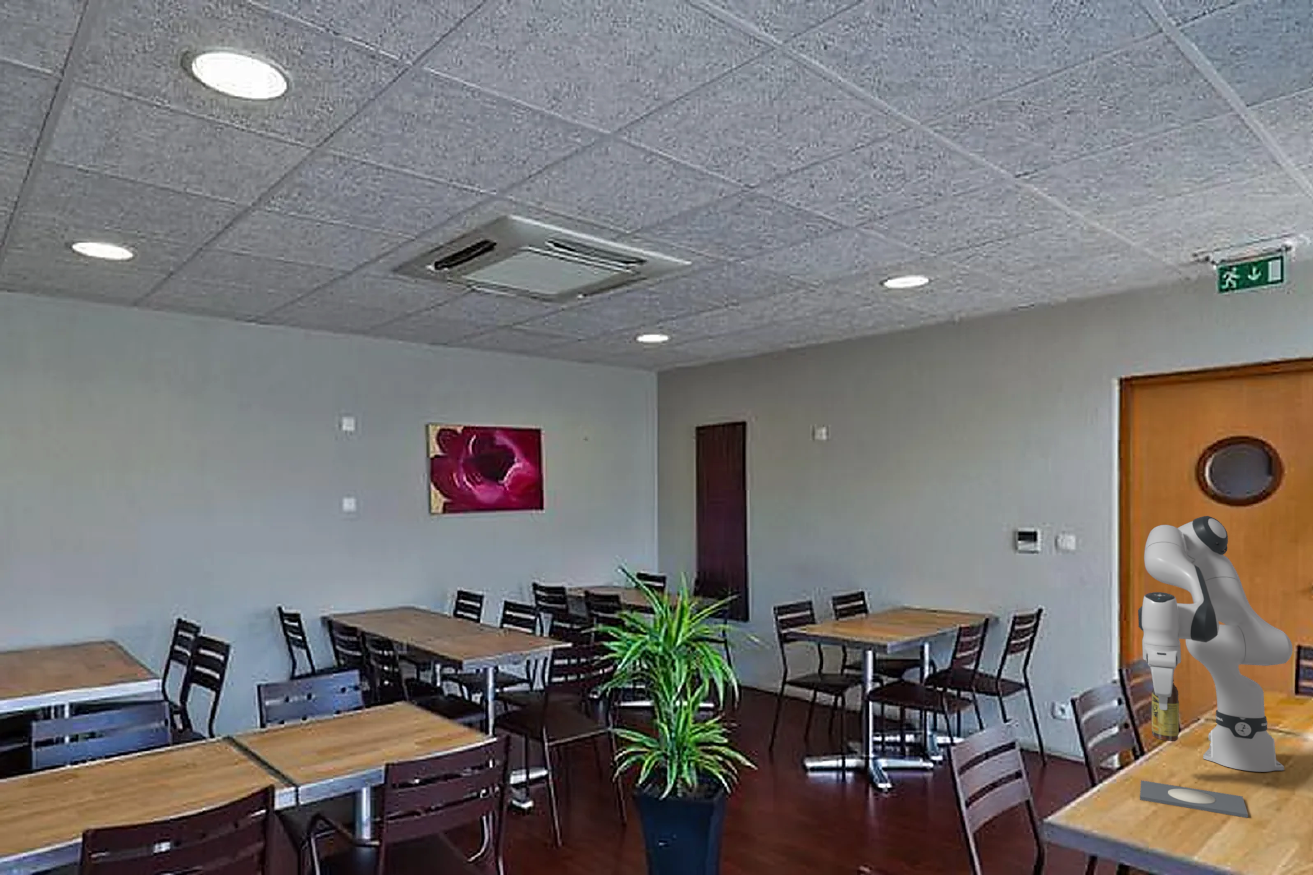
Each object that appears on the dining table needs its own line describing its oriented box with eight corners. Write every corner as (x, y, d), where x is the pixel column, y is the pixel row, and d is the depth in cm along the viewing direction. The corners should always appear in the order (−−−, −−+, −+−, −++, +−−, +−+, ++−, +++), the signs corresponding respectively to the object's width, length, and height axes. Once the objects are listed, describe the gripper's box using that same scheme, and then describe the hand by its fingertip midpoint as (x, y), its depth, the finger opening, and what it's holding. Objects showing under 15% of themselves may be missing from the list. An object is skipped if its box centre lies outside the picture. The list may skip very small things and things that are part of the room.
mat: (1141, 783, 219) (1140, 779, 219) (1242, 799, 207) (1242, 795, 207) (1140, 799, 207) (1139, 795, 207) (1247, 817, 195) (1247, 813, 195)
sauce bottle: (1151, 733, 227) (1150, 660, 227) (1177, 737, 224) (1177, 663, 224) (1152, 740, 221) (1151, 665, 221) (1179, 744, 218) (1179, 668, 218)
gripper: (1148, 646, 234) (1149, 695, 233) (1147, 660, 216) (1149, 713, 215) (1174, 648, 230) (1175, 698, 230) (1176, 662, 213) (1178, 717, 212)
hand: (1163, 706), depth 222 cm, fingers closed on sauce bottle, 6 cm apart
